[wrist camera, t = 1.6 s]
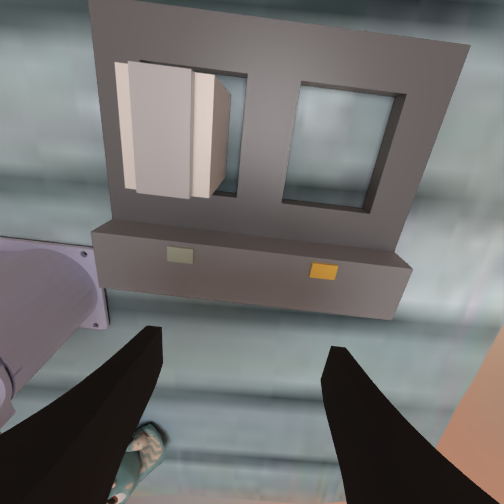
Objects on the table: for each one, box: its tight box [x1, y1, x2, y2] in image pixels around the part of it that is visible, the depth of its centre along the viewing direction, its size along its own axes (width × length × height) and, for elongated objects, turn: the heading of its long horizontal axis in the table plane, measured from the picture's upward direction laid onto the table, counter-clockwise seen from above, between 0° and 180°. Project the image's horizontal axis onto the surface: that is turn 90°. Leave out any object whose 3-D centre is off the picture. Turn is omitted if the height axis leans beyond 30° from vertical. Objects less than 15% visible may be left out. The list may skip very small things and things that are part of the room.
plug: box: [115, 61, 231, 199], centre depth 14 cm, size 4×5×7 cm
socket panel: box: [88, 0, 471, 320], centre depth 16 cm, size 20×16×4 cm
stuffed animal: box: [106, 424, 166, 504], centre depth 28 cm, size 11×7×12 cm
